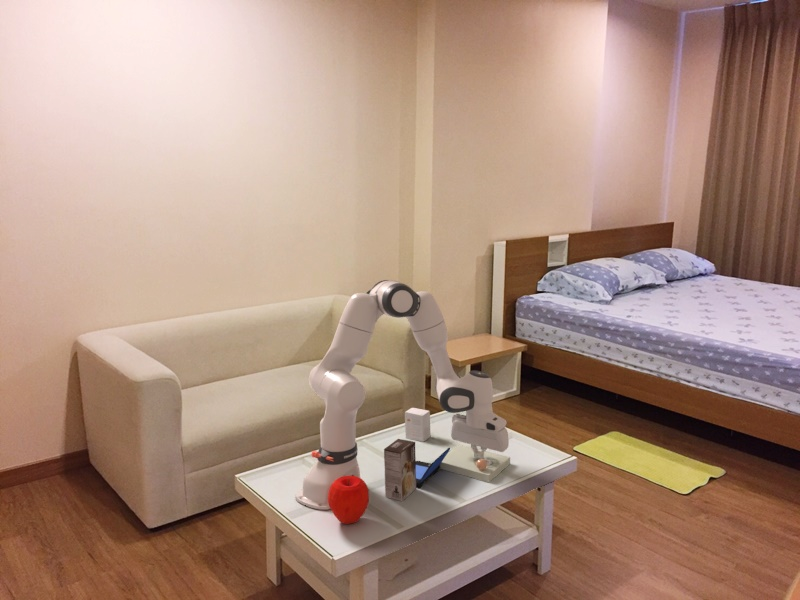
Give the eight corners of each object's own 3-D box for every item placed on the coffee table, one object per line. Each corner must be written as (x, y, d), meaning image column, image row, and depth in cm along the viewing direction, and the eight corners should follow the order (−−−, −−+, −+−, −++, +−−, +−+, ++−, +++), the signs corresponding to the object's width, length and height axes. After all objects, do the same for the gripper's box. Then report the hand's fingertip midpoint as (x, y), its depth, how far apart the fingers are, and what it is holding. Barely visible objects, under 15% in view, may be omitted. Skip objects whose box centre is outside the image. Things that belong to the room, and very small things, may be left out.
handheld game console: (416, 463, 221) (415, 438, 219) (451, 472, 215) (451, 446, 213) (393, 483, 208) (393, 456, 206) (430, 492, 201) (430, 464, 200)
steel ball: (489, 472, 213) (488, 462, 213) (480, 470, 215) (479, 460, 215) (494, 468, 216) (493, 458, 215) (484, 466, 218) (484, 457, 217)
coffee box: (399, 484, 206) (398, 437, 203) (416, 488, 203) (416, 441, 200) (384, 497, 198) (383, 448, 195) (402, 501, 195) (401, 452, 192)
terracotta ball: (483, 472, 208) (483, 462, 207) (474, 470, 210) (474, 460, 209) (488, 468, 211) (488, 458, 210) (479, 466, 213) (479, 456, 212)
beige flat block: (488, 482, 206) (488, 475, 206) (435, 467, 218) (435, 460, 217) (510, 463, 219) (510, 457, 219) (459, 450, 230) (459, 444, 230)
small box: (430, 437, 243) (430, 410, 241) (423, 442, 238) (423, 415, 236) (412, 432, 247) (412, 406, 245) (405, 437, 242) (404, 411, 240)
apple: (341, 537, 177) (340, 492, 174) (321, 519, 186) (319, 476, 183) (377, 523, 183) (376, 480, 181) (355, 506, 193) (354, 465, 190)
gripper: (447, 415, 217) (447, 453, 220) (502, 428, 206) (502, 468, 208) (456, 409, 222) (456, 447, 225) (511, 421, 211) (510, 460, 213)
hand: (479, 457), depth 216 cm, fingers closed
